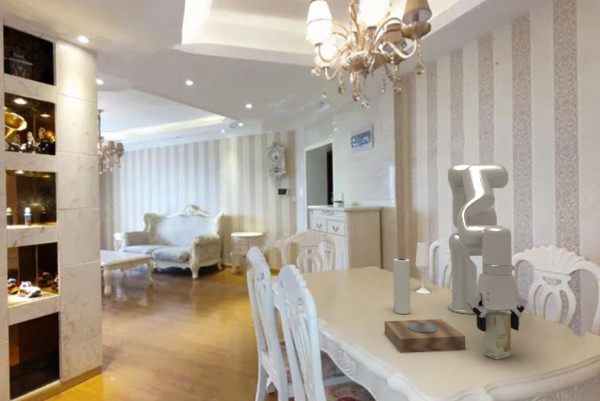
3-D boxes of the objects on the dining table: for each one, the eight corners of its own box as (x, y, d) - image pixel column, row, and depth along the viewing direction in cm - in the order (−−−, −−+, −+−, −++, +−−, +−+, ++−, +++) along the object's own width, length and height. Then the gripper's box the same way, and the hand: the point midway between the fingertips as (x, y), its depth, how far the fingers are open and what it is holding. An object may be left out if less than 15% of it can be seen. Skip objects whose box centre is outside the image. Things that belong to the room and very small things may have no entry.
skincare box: (497, 360, 104) (497, 317, 103) (483, 355, 107) (483, 313, 107) (511, 355, 107) (511, 313, 106) (497, 350, 110) (497, 309, 110)
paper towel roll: (410, 315, 145) (410, 260, 145) (395, 314, 146) (394, 260, 146) (409, 309, 152) (408, 257, 152) (394, 308, 153) (393, 257, 153)
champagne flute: (428, 294, 176) (427, 243, 176) (414, 292, 179) (413, 243, 179) (431, 291, 181) (431, 242, 181) (417, 289, 185) (417, 241, 185)
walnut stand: (441, 330, 127) (441, 317, 127) (465, 349, 111) (465, 334, 111) (384, 332, 126) (384, 320, 126) (400, 352, 110) (400, 337, 110)
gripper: (516, 267, 111) (517, 324, 111) (461, 268, 110) (462, 326, 110) (534, 271, 104) (535, 333, 103) (475, 273, 102) (476, 335, 102)
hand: (497, 329), depth 106 cm, fingers open, 9 cm apart
